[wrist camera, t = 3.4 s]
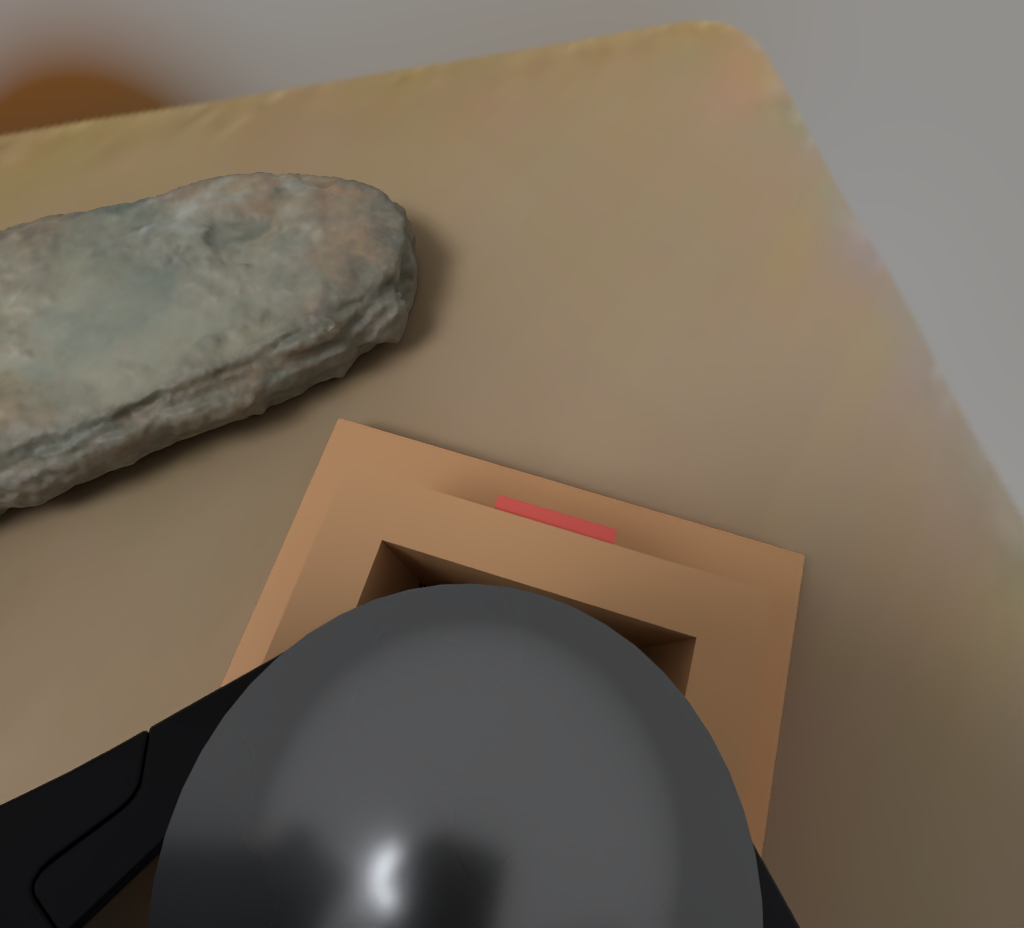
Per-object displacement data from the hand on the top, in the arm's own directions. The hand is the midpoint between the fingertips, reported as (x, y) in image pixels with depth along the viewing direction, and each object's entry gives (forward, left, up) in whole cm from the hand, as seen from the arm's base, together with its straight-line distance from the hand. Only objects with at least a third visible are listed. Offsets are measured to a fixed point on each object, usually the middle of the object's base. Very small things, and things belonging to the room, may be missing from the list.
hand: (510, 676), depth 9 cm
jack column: (-1, +1, -7) cm, 7 cm away
